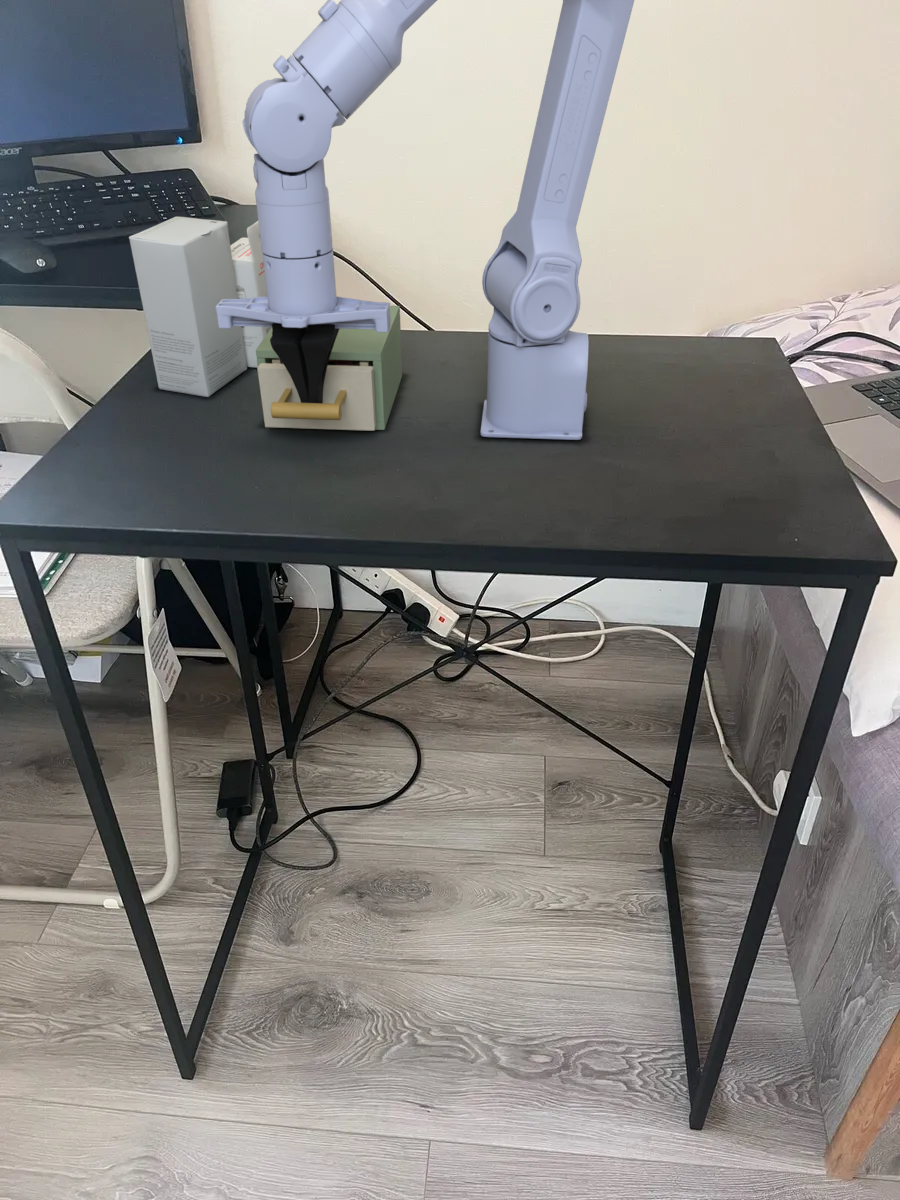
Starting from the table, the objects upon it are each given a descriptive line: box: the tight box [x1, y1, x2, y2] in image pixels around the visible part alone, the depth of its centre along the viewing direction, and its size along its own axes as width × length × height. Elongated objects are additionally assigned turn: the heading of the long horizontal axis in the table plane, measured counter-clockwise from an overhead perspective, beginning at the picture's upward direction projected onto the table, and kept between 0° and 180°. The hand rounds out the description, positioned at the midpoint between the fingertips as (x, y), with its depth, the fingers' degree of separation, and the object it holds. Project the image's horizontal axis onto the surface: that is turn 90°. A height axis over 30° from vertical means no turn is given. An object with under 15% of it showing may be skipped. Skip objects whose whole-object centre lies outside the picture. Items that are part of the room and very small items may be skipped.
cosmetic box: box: [128, 216, 248, 398], centre depth 92 cm, size 8×7×16 cm
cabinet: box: [256, 305, 403, 431], centre depth 90 cm, size 14×12×8 cm
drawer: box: [256, 358, 376, 432], centre depth 86 cm, size 17×10×6 cm, turn 175°
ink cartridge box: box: [230, 220, 272, 369], centre depth 98 cm, size 9×5×15 cm, turn 168°
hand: (313, 406), depth 81 cm, fingers closed, pressing on drawer
